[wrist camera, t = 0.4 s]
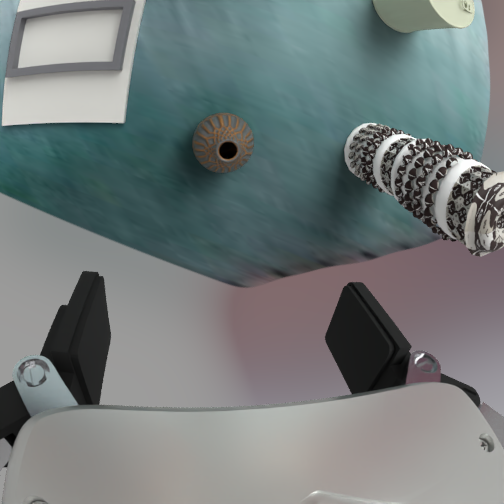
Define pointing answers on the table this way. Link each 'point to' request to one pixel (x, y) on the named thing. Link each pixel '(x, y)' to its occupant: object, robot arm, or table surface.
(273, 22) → the table surface
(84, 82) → the slot board
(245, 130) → the vase
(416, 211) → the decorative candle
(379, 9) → the can
